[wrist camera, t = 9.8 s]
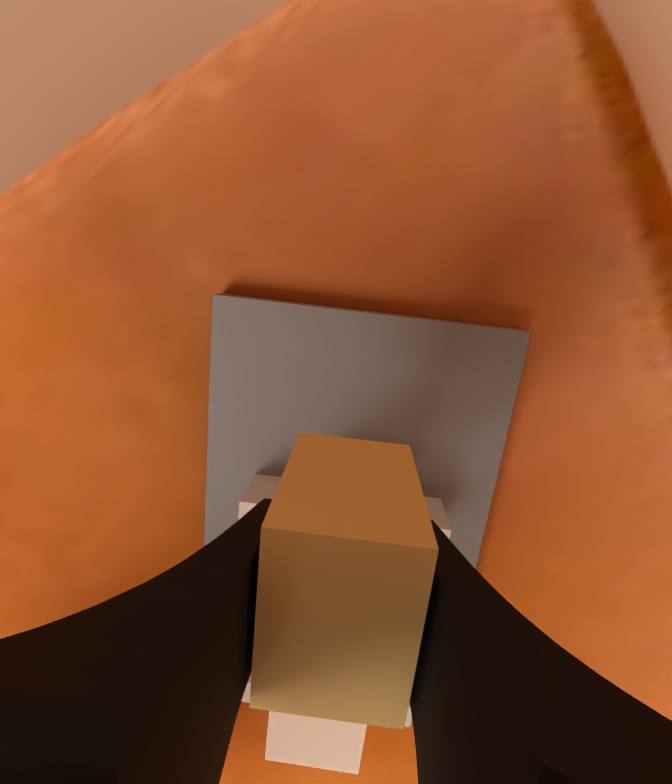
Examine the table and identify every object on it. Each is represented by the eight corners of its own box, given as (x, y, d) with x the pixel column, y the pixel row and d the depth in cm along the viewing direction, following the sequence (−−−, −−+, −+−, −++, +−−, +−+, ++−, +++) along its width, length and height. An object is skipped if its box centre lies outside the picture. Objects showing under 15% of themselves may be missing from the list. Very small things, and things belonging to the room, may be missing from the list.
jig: (438, 689, 24) (451, 763, 20) (207, 655, 24) (180, 721, 20) (520, 328, 18) (558, 341, 15) (221, 293, 19) (188, 297, 15)
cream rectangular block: (304, 458, 19) (283, 521, 14) (395, 470, 19) (405, 538, 14) (282, 671, 22) (259, 781, 18) (359, 682, 22) (358, 797, 17)
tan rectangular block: (389, 570, 13) (403, 729, 8) (289, 557, 13) (249, 707, 8) (409, 445, 12) (438, 549, 7) (299, 431, 12) (260, 527, 7)
